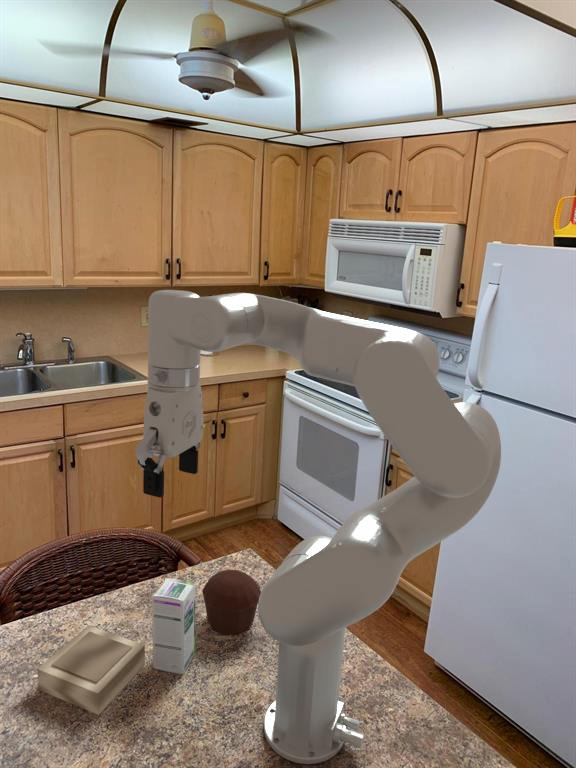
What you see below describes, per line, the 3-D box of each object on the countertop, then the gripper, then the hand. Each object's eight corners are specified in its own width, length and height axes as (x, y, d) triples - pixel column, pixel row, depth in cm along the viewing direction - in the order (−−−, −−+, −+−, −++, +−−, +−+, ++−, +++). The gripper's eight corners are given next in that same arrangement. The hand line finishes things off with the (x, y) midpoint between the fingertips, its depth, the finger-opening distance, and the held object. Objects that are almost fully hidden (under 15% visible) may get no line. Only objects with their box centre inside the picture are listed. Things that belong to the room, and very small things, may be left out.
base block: (144, 664, 100) (144, 643, 99) (98, 715, 89) (98, 692, 88) (89, 644, 104) (88, 624, 103) (38, 689, 93) (37, 667, 92)
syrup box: (183, 675, 98) (185, 601, 94) (151, 669, 99) (151, 595, 96) (195, 653, 103) (197, 581, 100) (164, 647, 104) (165, 576, 101)
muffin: (190, 616, 113) (191, 571, 111) (236, 596, 120) (238, 554, 118) (224, 650, 105) (226, 602, 102) (271, 626, 112) (274, 581, 109)
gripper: (162, 392, 75) (160, 511, 80) (223, 368, 91) (219, 468, 95) (115, 383, 78) (115, 499, 82) (182, 362, 94) (180, 460, 98)
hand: (171, 482), depth 89 cm, fingers open, 9 cm apart
